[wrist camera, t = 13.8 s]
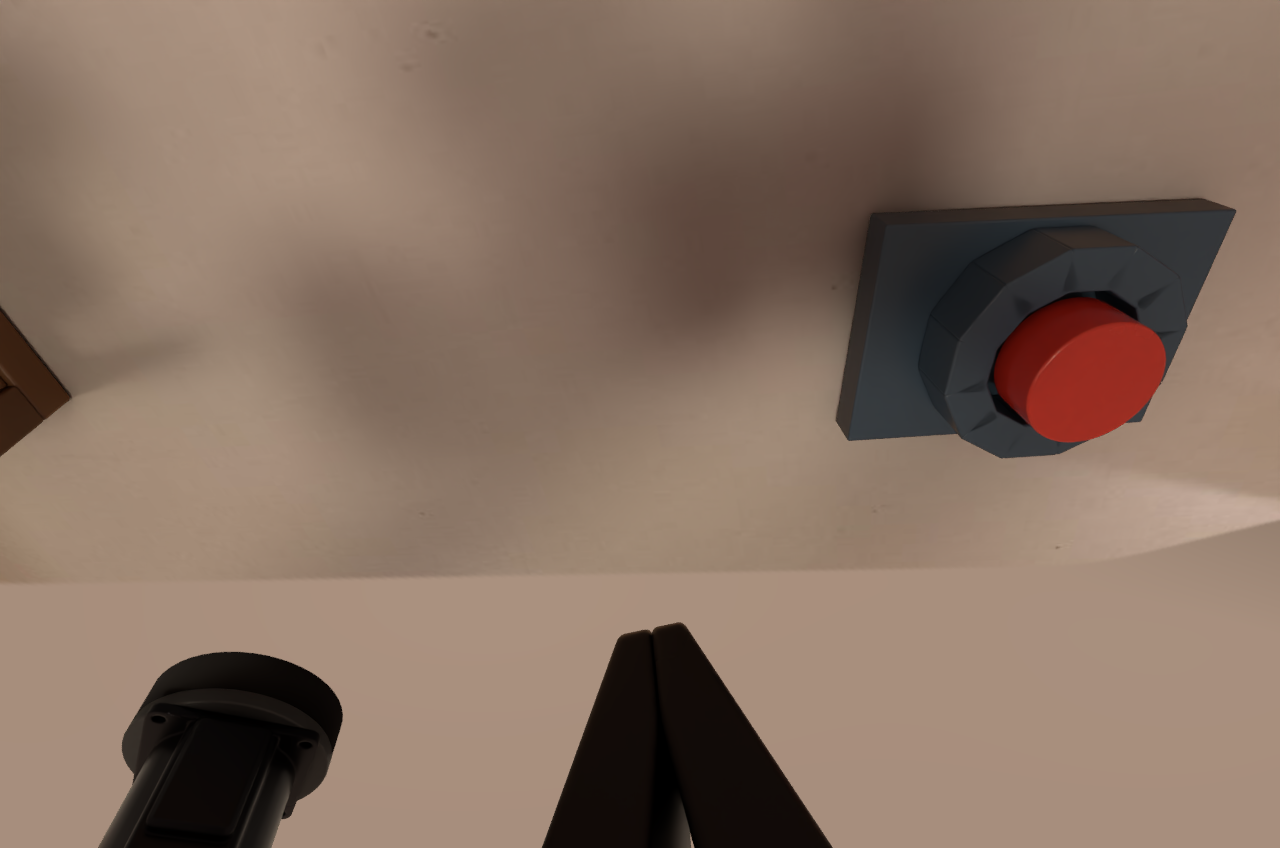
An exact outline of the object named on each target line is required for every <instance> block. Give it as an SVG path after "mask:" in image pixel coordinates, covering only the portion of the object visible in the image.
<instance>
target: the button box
mask: <svg viewBox="0 0 1280 848" xmlns="http://www.w3.org/2000/svg"><path fill="white" fill-rule="evenodd" d="M1235 213H1236V210H1235V209H1233V208H1230V207H1227V206H1224V205H1221V204H1218V203H1215V202H1212V201H1209V200H1206V199H1193V200H1170V201H1147V202H1124V203H1101V204H1077V205H1054V206H1031V207H1008V208H985V209H962V210H939V211H916V212H893V213H873V214H871V215H870V221H869V227H868V233H867V239H866V245H865V251H864V257H863V263H862V270H861V276H860V282H859V288H858V294H857V300H856V306H855V312H854V318H853V324H852V330H851V336H850V342H849V348H848V354H847V360H846V366H845V372H844V379H843V385H842V391H841V397H840V403H839V409H838V415H837V424H838V425H839V427H840V428H841V430H842V432H843V433H844V435H845V437H846V438H847V440H849V441H853V440H869V439H884V438H899V437H915V436H930V435H946V434H958V435H959V436H960V437H961V438H962V439H964V440H966V441H968V442H970V443H971V444H973V445H975V446H977V447H979V448H981V449H983V450H985V451H987V452H989V453H991V454H993V455H995V456H997V457H999V458H1015V457H1030V456H1045V455H1055V454H1060V453H1062V452H1065V451H1067V450H1069V449H1071V448H1073V447H1075V446H1077V445H1079V444H1082V443H1084V442H1086V441H1088V440H1086V441H1080V442H1058V441H1054V440H1050V439H1048V438H1045V437H1043V436H1042V435H1040V434H1039V433H1037V432H1036V431H1035V430H1034V429H1033V428H1032V427H1031V426H1030V425H1029V424H1028V423H1027V422H1026V421H1025V420H1024V419H1023V418H1022V417H1020V416H1019V415H1018V414H1017V413H1016V412H1015V411H1014V410H1013V409H1012V408H1011V407H1010V406H1009V405H1008V404H1007V403H1006V402H1005V401H1004V400H1003V399H1002V398H1001V397H1000V395H999V394H998V392H997V389H996V386H995V382H994V367H995V362H996V359H997V356H998V353H999V351H1000V349H1001V347H1002V345H1003V344H1004V342H1005V341H1006V339H1007V337H1008V336H1009V335H1010V334H1011V333H1012V332H1013V331H1014V330H1015V328H1016V327H1017V326H1018V325H1019V324H1020V323H1021V322H1022V321H1023V320H1025V319H1026V318H1027V317H1028V316H1030V315H1031V314H1033V313H1034V312H1035V311H1037V310H1039V309H1041V308H1042V307H1044V306H1047V305H1049V304H1051V303H1053V302H1056V301H1059V300H1063V299H1067V298H1074V297H1090V298H1096V299H1099V300H1102V301H1104V302H1106V303H1108V304H1109V305H1111V306H1113V307H1114V308H1116V309H1118V310H1120V311H1121V312H1123V313H1125V314H1126V315H1128V316H1130V317H1132V318H1133V319H1135V320H1137V321H1138V322H1140V323H1142V324H1144V325H1145V326H1147V327H1149V328H1150V329H1152V330H1153V331H1154V332H1155V333H1156V334H1157V335H1158V336H1159V338H1160V339H1161V341H1162V343H1163V345H1164V349H1165V352H1166V365H1165V370H1164V374H1163V377H1162V380H1161V382H1162V381H1163V379H1164V377H1165V375H1166V373H1167V370H1168V368H1169V366H1170V364H1171V362H1172V359H1173V357H1174V355H1175V353H1176V351H1177V349H1178V346H1179V344H1180V342H1181V340H1182V338H1183V335H1184V333H1185V331H1186V327H1187V319H1188V317H1189V315H1190V312H1191V310H1192V308H1193V306H1194V304H1195V301H1196V299H1197V297H1198V295H1199V292H1200V290H1201V288H1202V286H1203V284H1204V281H1205V279H1206V277H1207V275H1208V273H1209V270H1210V268H1211V266H1212V264H1213V262H1214V259H1215V257H1216V255H1217V253H1218V251H1219V248H1220V246H1221V244H1222V242H1223V240H1224V237H1225V235H1226V233H1227V231H1228V229H1229V226H1230V224H1231V222H1232V220H1233V218H1234V215H1235ZM1161 382H1160V384H1161ZM1160 384H1159V385H1160ZM1151 398H1152V397H1151ZM1150 400H1151V399H1150ZM1150 400H1149V401H1148V402H1147V404H1146V405H1145V406H1144V407H1143V408H1142V409H1141V410H1140V411H1139V412H1138V413H1137V414H1136V415H1134V416H1133V417H1132V418H1131V419H1130V420H1128V421H1127V422H1125V423H1130V422H1140V421H1141V420H1142V418H1143V416H1144V414H1145V411H1146V409H1147V407H1148V405H1149V403H1150Z"/></svg>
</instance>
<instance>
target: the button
mask: <svg viewBox="0 0 1280 848" xmlns="http://www.w3.org/2000/svg"><path fill="white" fill-rule="evenodd" d="M1165 365H1166V352H1165V349H1164V345H1163V343H1162V341H1161V339H1160V338H1159V336H1158V335H1157V334H1156V333H1155V332H1154V331H1153V330H1152V329H1150V328H1149V327H1147V326H1145V325H1144V324H1142V323H1140V322H1138V321H1137V320H1135V319H1133V318H1132V317H1130V316H1128V315H1126V314H1125V313H1123V312H1121V311H1120V310H1118V309H1116V308H1114V307H1113V306H1111V305H1109V304H1108V303H1106V302H1104V301H1102V300H1099V299H1096V298H1090V297H1074V298H1067V299H1063V300H1059V301H1056V302H1053V303H1051V304H1049V305H1047V306H1044V307H1042V308H1041V309H1039V310H1037V311H1035V312H1034V313H1033V314H1031V315H1030V316H1028V317H1027V318H1026V319H1025V320H1023V321H1022V322H1021V323H1020V324H1019V325H1018V326H1017V327H1016V328H1015V330H1014V331H1013V332H1012V333H1011V334H1010V335H1009V336H1008V337H1007V339H1006V341H1005V342H1004V344H1003V345H1002V347H1001V349H1000V351H999V353H998V356H997V359H996V362H995V367H994V382H995V386H996V389H997V392H998V394H999V395H1000V397H1001V398H1002V399H1003V400H1004V401H1005V402H1006V403H1007V404H1008V405H1009V406H1010V407H1011V408H1012V409H1013V410H1014V411H1015V412H1016V413H1017V414H1018V415H1019V416H1020V417H1022V418H1023V419H1024V420H1025V421H1026V422H1027V423H1028V424H1029V425H1030V426H1031V427H1032V428H1033V429H1034V430H1035V431H1036V432H1037V433H1039V434H1040V435H1042V436H1043V437H1045V438H1048V439H1050V440H1054V441H1058V442H1080V441H1086V440H1090V439H1093V438H1096V437H1099V436H1102V435H1104V434H1106V433H1109V432H1110V431H1112V430H1114V429H1116V428H1118V427H1119V426H1121V425H1123V424H1124V423H1125V422H1127V421H1128V420H1130V419H1131V418H1132V417H1133V416H1134V415H1136V414H1137V413H1138V412H1139V411H1140V410H1141V409H1142V408H1143V407H1144V406H1145V405H1146V404H1147V402H1148V401H1149V400H1150V399H1151V397H1152V396H1153V394H1154V393H1155V391H1156V390H1157V388H1158V386H1159V384H1160V382H1161V380H1162V377H1163V374H1164V370H1165Z"/></svg>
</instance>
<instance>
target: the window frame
mask: <svg viewBox="0 0 1280 848" xmlns="http://www.w3.org/2000/svg"><path fill="white" fill-rule="evenodd" d="M69 400H70V397H69V396H68V394H67V393H66V392H65V391H64V389H63V388H62V387H61V386H60V384H59V383H58V382H57V381H56V379H55V378H54V377H53V376H52V374H51V373H50V372H49V371H48V369H47V368H46V367H45V366H44V364H43V363H42V362H41V361H40V359H39V358H38V357H37V356H36V354H35V353H34V352H33V351H32V349H31V348H30V347H29V346H28V345H27V343H26V342H25V341H24V340H23V338H22V337H21V336H20V335H19V333H18V332H17V331H16V330H15V328H14V327H13V326H12V325H11V323H10V322H9V321H8V320H7V318H6V317H5V316H4V315H3V313H2V312H1V311H0V456H2V455H3V454H4V453H5V452H7V451H8V450H9V449H10V448H11V447H13V446H14V445H15V444H16V443H18V442H19V441H20V440H21V439H22V438H24V437H25V436H26V435H27V434H28V433H30V432H31V431H32V430H33V429H35V428H36V427H37V426H38V425H39V424H41V423H42V422H43V420H45V419H47V418H48V417H49V416H50V415H52V414H53V413H54V412H55V411H56V410H58V409H59V408H60V407H61V406H63V405H64V404H65V403H66V402H67V401H69Z"/></svg>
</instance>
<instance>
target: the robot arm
mask: <svg viewBox="0 0 1280 848" xmlns="http://www.w3.org/2000/svg"><path fill="white" fill-rule="evenodd" d="M320 739H321V735H320V734H319V733H318V732H316V731H314V730H311V729H305V728H300V727H294V726H289V725H283V724H278V723H272V722H267V721H261V720H256V719H250V718H245V717H240V716H234V715H229V714H223V713H218V712H212V711H207V710H201V709H196V708H190V707H185V706H179V705H174V704H168V703H155V704H153V705H151V707H150V709H149V710H148V712H147V714H146V716H145V718H144V723H143V729H142V735H141V740H140V746H139V751H138V757H137V762H136V768H135V773H134V779H133V784H132V787H131V789H130V791H129V793H128V794H127V796H126V798H125V800H124V801H123V803H122V805H121V807H120V809H119V811H118V812H117V814H116V816H115V818H114V820H113V822H112V823H111V825H110V827H109V829H108V831H107V832H106V834H105V836H104V838H103V840H102V842H101V843H100V845H99V847H98V848H271V847H272V844H273V841H274V838H275V835H276V832H277V829H278V826H279V823H280V821H281V819H286V818H288V817H290V816H291V814H292V812H293V809H294V807H295V804H296V802H297V799H298V796H299V794H300V791H301V789H302V786H303V784H304V781H305V779H306V776H307V774H308V771H309V769H310V766H311V763H312V761H313V758H314V756H315V753H316V751H317V748H318V745H319V742H320ZM690 833H691V837H692V841H693V844H694V848H832V846H831V844H830V843H829V842H828V840H827V838H826V837H825V835H824V834H823V832H822V831H821V830H820V828H819V826H818V825H817V823H816V822H815V820H814V819H813V817H812V816H811V814H810V813H809V811H808V810H807V808H806V807H805V805H804V804H803V802H802V801H801V799H800V798H799V796H798V795H797V793H796V792H795V790H794V789H793V787H792V786H791V784H790V783H789V781H788V780H787V778H786V777H785V775H784V774H783V772H782V770H781V769H780V768H779V766H778V764H777V763H776V761H775V760H774V759H773V757H772V755H771V754H770V753H769V751H768V750H767V748H766V746H765V745H764V743H763V742H762V740H761V739H760V737H759V736H758V734H757V733H756V731H755V730H754V728H753V727H752V725H751V724H750V722H749V721H748V719H747V718H746V716H745V715H744V713H743V712H742V710H741V709H740V707H739V706H738V704H737V703H736V701H735V700H734V698H733V697H732V695H731V694H730V692H729V691H728V689H727V687H726V686H725V685H724V683H723V681H722V680H721V679H720V677H719V675H718V674H717V672H716V671H715V669H714V668H713V666H712V665H711V663H710V662H709V660H708V659H707V657H706V656H705V654H704V653H703V651H702V650H701V648H700V647H699V645H698V644H697V642H696V641H695V639H694V638H693V636H692V635H691V633H690V632H689V630H688V629H687V627H686V626H685V625H684V624H683V623H679V622H678V623H673V624H668V625H664V626H659V627H656V628H655V629H654V630H653V632H652V633H651V632H650V631H649V630H641V631H637V632H632V633H627V634H623V635H621V636H620V637H619V638H618V640H617V643H616V645H615V648H614V651H613V653H612V656H611V659H610V661H609V664H608V667H607V670H606V673H605V675H604V678H603V681H602V683H601V686H600V689H599V692H598V695H597V697H596V700H595V703H594V706H593V708H592V711H591V714H590V717H589V719H588V722H587V725H586V728H585V730H584V733H583V736H582V739H581V741H580V744H579V747H578V750H577V752H576V755H575V758H574V761H573V764H572V766H571V769H570V772H569V775H568V777H567V780H566V783H565V785H564V788H563V791H562V794H561V796H560V799H559V802H558V805H557V808H556V811H555V813H554V816H553V819H552V821H551V824H550V827H549V830H548V833H547V835H546V838H545V841H544V844H543V846H542V848H691V841H690Z"/></svg>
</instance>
